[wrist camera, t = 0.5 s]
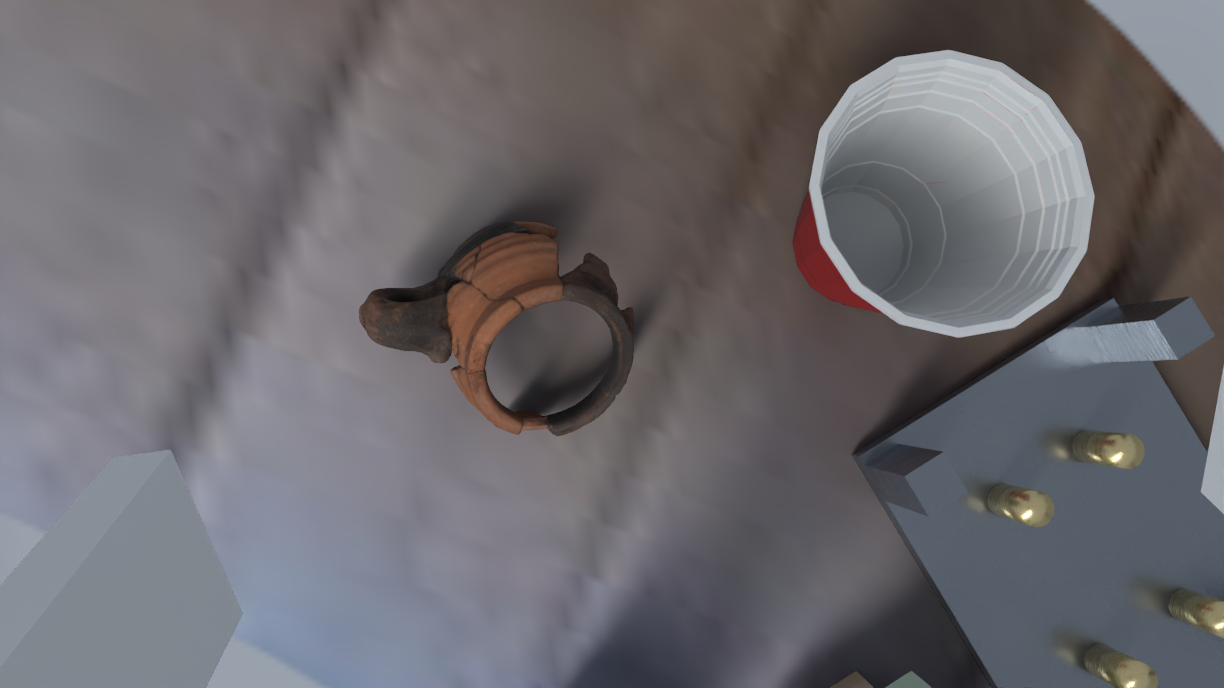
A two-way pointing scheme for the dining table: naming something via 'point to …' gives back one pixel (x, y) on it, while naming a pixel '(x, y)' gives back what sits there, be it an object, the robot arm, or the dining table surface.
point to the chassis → (1068, 508)
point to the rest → (853, 682)
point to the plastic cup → (945, 197)
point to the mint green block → (909, 682)
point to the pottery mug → (501, 316)
